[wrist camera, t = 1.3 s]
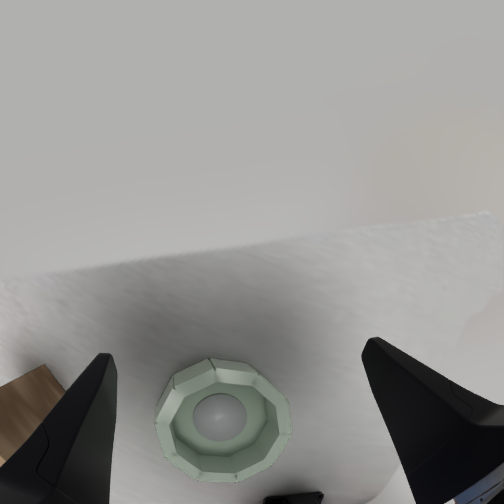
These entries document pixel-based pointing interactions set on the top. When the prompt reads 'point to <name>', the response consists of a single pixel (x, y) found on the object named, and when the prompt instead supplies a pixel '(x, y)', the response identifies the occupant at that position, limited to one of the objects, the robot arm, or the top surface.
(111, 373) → the robot arm
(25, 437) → the layered tan brick
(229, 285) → the top surface
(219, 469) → the pale green faceted bowl
